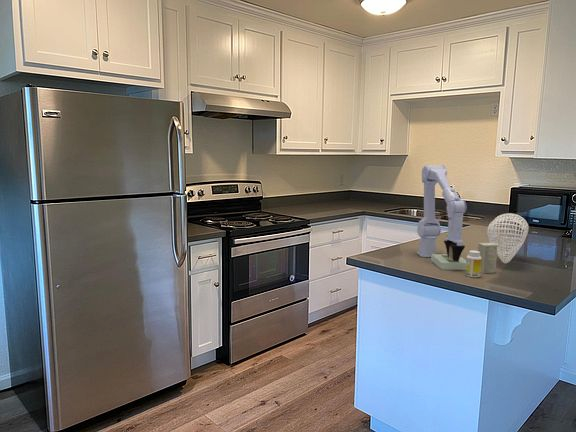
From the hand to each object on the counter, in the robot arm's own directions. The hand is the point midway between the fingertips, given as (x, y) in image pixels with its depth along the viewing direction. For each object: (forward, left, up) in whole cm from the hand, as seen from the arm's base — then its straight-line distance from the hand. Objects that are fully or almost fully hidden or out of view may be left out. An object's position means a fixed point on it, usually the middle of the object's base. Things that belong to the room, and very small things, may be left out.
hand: (453, 258), depth 187 cm
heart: (-10, +27, -4) cm, 29 cm away
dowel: (0, 0, -4) cm, 4 cm away
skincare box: (+6, +12, -4) cm, 14 cm away
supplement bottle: (+13, +4, -4) cm, 14 cm away
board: (-4, 0, -4) cm, 6 cm away
